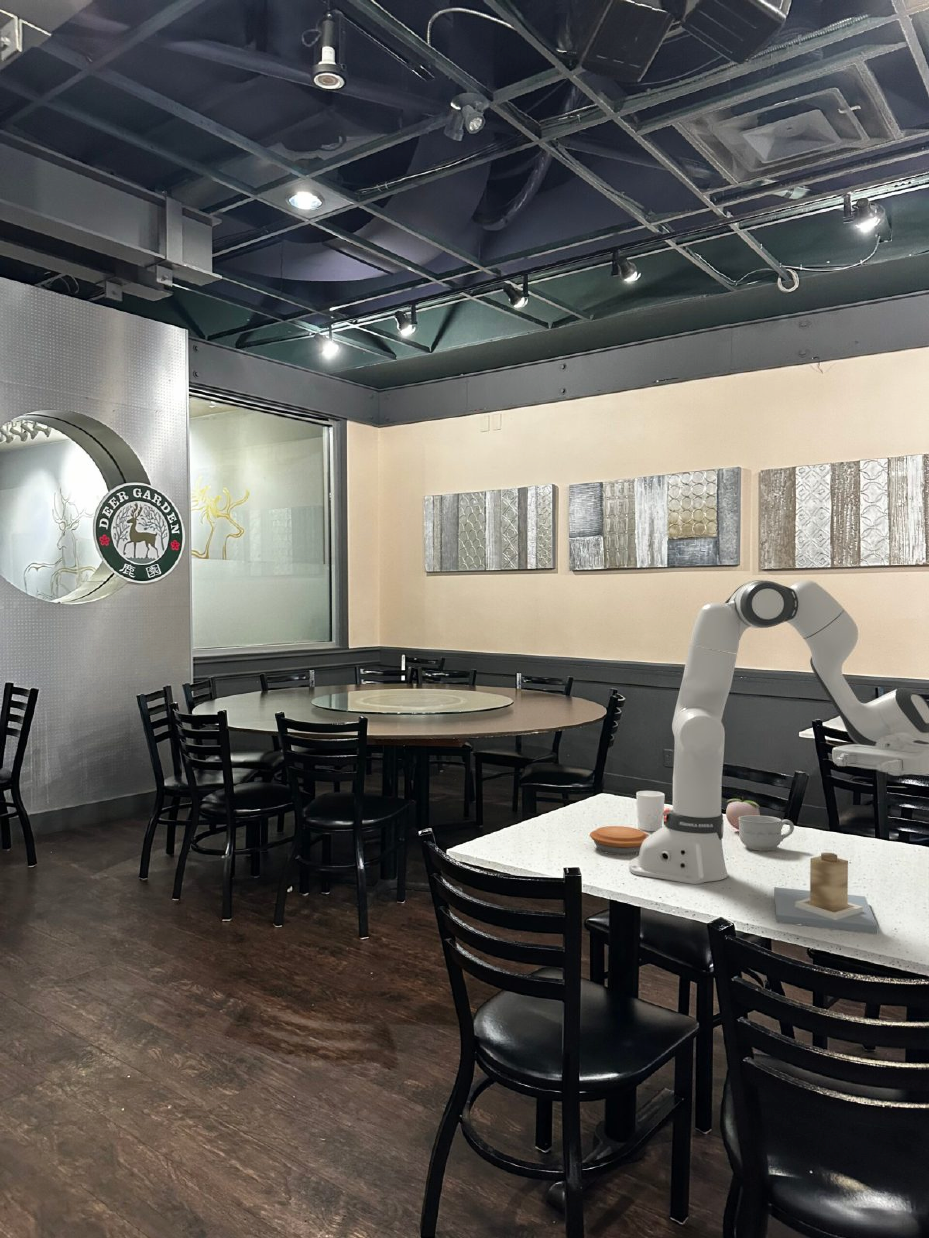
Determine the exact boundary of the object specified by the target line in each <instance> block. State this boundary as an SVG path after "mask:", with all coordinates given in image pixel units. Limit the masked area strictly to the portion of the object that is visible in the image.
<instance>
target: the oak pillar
mask: <svg viewBox="0 0 929 1238" xmlns="http://www.w3.org/2000/svg"><path fill="white" fill-rule="evenodd" d="M809 861H810V867H809V869H810V874H809V875H810V876H809V878H810V879H809V883H810V885H809V891H810V905H812V906H815V907H818V908H821V909H825V910H828V911H831V912H834V913H835V912H838V911H841V910H844V909H847V908H848V895H849V893H848V891H849V890H848V889H849V887H848V886H849V885H848V884H849V881H848V880H849V879H848V877H849V861H848V860H847V859H843V858H840V857H839V858H838V854H836V853H832V852H822V853H821V854H820V855H819V856H814V857H811V858H810V860H809Z"/></svg>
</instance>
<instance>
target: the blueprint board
mask: <svg viewBox="0 0 929 1238" xmlns="http://www.w3.org/2000/svg"><path fill="white" fill-rule="evenodd" d="M773 896H774V897H773V899H774V908H775V910H774V911H775V919H776V923H778V924H779V923H780V924H787V925H796V924H801V925H800V926H804V925H806V926H805V927H813V928H814V927H815V928H823V929H832V930H839V931H840V930H841V931H848V932H849V931H850V932H859V933H866V934H873V935H874V934H875V935H878V924H877V922H876V919H875V918H874V914H873V912H872V909H871V907H870V905H869V903H868V900H867V898H866V896H865V895H855V894H848V903H852V904H855V905H858V906H862V907H863V912H860V913H857V914H854V915H851V916H848V917H844V918H841V919H838V920H834V919H831V918H828V917H825V916H821V915H818V914H815V913H812V912H809V911H806V910H803V909H800V908H797V907H795V902H797V901H800V900H804V899H807V898H810V890H806V889H798V888H797V889H795V888H788V887H787V888H786V887H776V886H774V887H773Z"/></svg>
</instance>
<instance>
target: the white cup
mask: <svg viewBox="0 0 929 1238" xmlns="http://www.w3.org/2000/svg"><path fill="white" fill-rule="evenodd" d="M665 795H666V794H665V793H663V792H661V791H655V790H640V791H636V796H635V797H636V815H637V829H639V830H641V831H644V832H645V831H646V832H656V831H657V830H659V829H660V828H662V827H663V823H664V815H663V812H664V810H665Z"/></svg>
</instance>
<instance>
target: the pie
mask: <svg viewBox="0 0 929 1238" xmlns="http://www.w3.org/2000/svg"><path fill="white" fill-rule="evenodd" d="M648 836H650V834H648V833H646V832H645V831H644V830H641V829H639V828H636V827H629V826H621V825H620V826H619V825H615V826H614V825H609V826H601V827H599V828H597V829H595V830H592V831H591V832H590V834H589V837H590V838H591V840H593V843H594V845H595V846H596V849H598V851H600V850H601V851H600V852H603V853H605V852H607V853H606V854H610V853H611V854H610V855H617V854H619V855H620V856H629V855H630V856H631V854H632V855H637V854H639V851H640V848H641V845H642V843H643V841H644V840H645V839H646V838H647V837H648ZM636 853H637V854H636Z"/></svg>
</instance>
